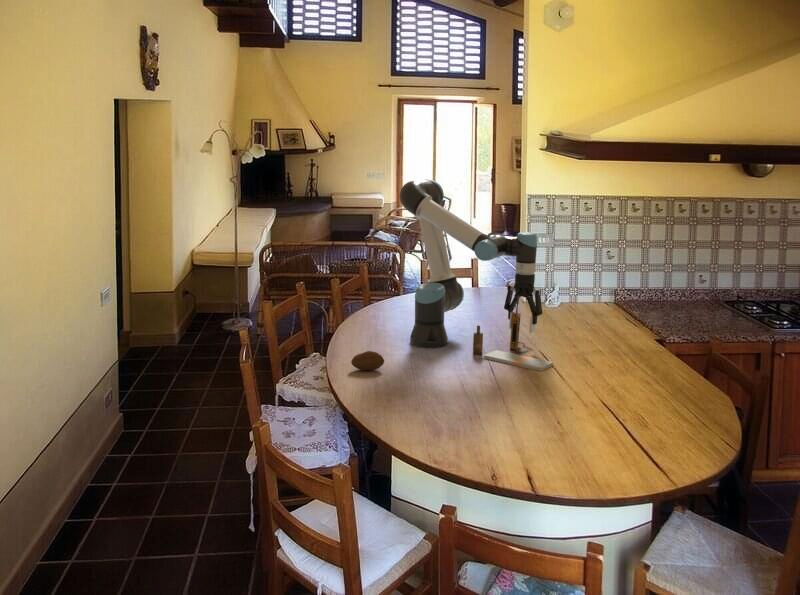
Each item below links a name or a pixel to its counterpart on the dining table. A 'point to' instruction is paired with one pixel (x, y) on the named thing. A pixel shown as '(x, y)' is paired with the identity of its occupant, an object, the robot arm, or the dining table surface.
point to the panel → (518, 360)
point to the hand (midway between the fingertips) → (521, 329)
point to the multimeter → (516, 331)
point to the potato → (367, 361)
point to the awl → (477, 342)
